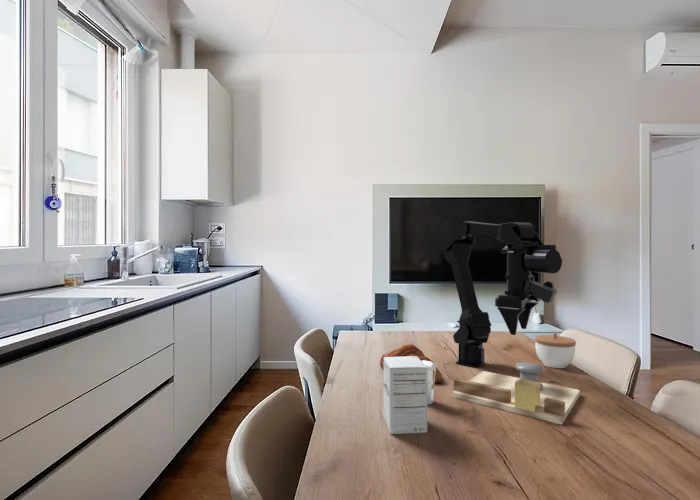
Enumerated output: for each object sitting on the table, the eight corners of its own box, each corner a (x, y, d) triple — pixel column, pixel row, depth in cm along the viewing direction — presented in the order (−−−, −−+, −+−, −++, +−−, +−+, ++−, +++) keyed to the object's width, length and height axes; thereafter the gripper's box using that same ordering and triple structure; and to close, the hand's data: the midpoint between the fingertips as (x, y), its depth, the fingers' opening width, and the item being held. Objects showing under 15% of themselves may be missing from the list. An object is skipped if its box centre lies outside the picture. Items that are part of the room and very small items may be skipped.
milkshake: (426, 408, 86) (426, 362, 86) (411, 400, 91) (411, 356, 91) (442, 404, 88) (442, 359, 88) (427, 396, 93) (427, 353, 93)
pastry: (438, 367, 116) (438, 339, 116) (442, 385, 101) (442, 354, 101) (380, 364, 119) (380, 337, 119) (376, 382, 104) (376, 351, 104)
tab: (514, 407, 84) (514, 383, 84) (520, 401, 87) (520, 378, 87) (534, 412, 82) (535, 387, 82) (540, 406, 85) (540, 382, 85)
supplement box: (382, 418, 82) (382, 356, 82) (418, 416, 82) (418, 355, 82) (389, 435, 74) (389, 367, 74) (428, 433, 75) (428, 366, 75)
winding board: (451, 397, 93) (451, 381, 93) (483, 375, 108) (483, 361, 108) (561, 424, 78) (561, 406, 78) (579, 395, 94) (579, 379, 94)
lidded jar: (581, 371, 112) (581, 338, 112) (540, 369, 114) (540, 336, 114) (568, 361, 122) (568, 330, 122) (530, 359, 124) (531, 329, 124)
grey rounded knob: (512, 387, 96) (512, 366, 96) (519, 380, 101) (519, 360, 101) (539, 393, 92) (539, 371, 92) (545, 385, 97) (545, 365, 97)
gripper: (544, 274, 91) (543, 343, 91) (561, 270, 105) (561, 329, 105) (494, 272, 98) (494, 336, 98) (517, 269, 112) (517, 324, 112)
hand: (518, 331), depth 103 cm, fingers open, 9 cm apart
